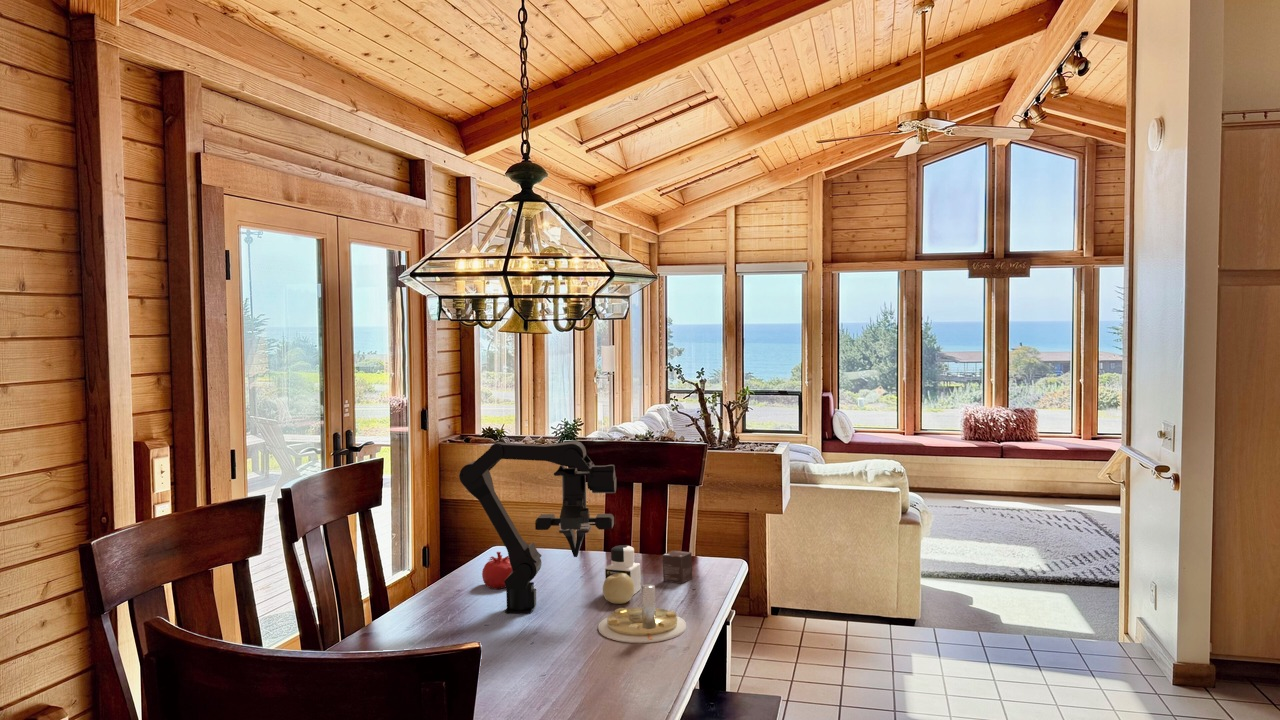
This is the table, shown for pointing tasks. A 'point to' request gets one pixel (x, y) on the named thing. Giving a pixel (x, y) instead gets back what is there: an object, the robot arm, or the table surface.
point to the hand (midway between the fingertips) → (575, 556)
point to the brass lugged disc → (643, 617)
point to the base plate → (642, 639)
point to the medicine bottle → (624, 565)
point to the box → (677, 566)
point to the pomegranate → (496, 571)
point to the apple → (618, 588)
